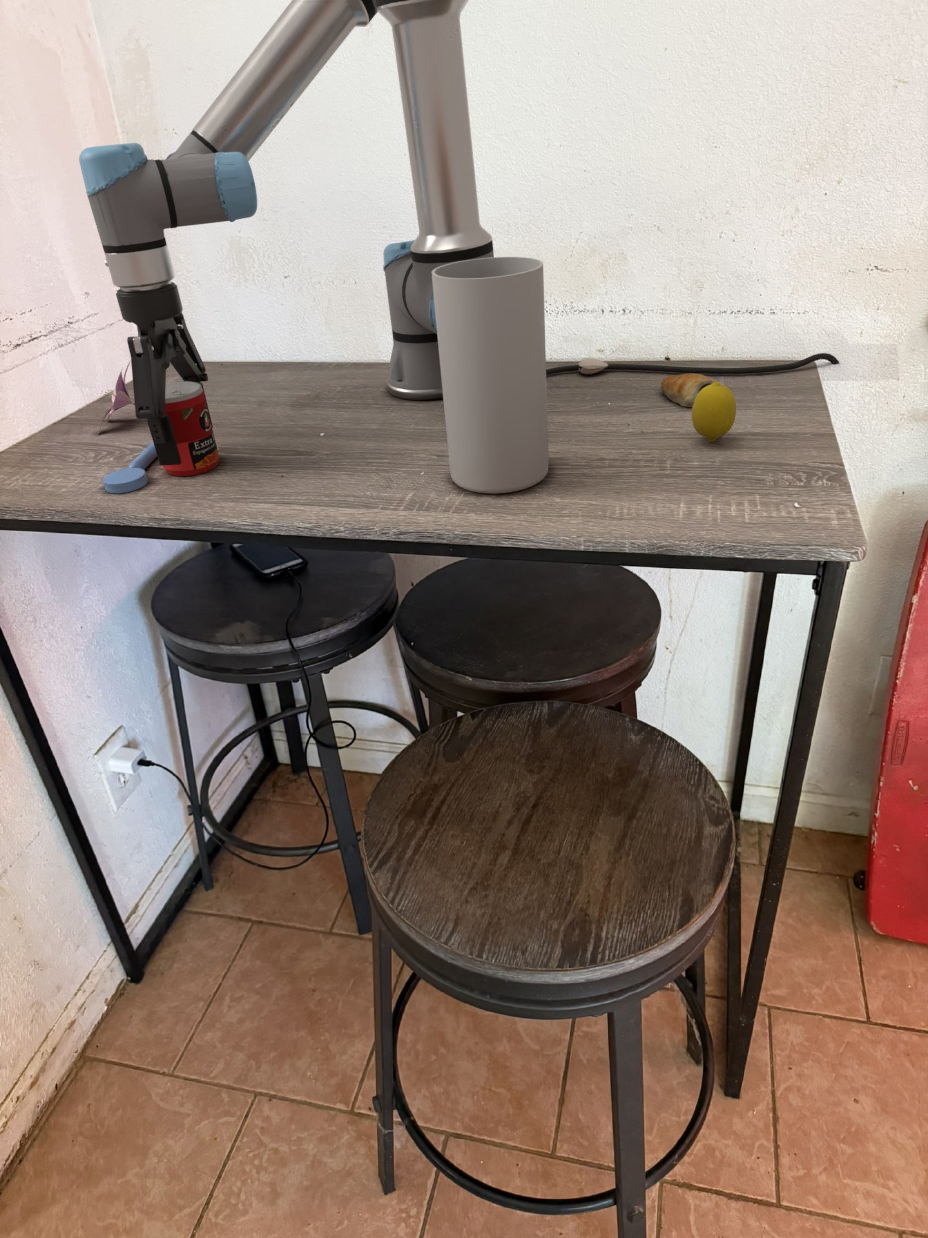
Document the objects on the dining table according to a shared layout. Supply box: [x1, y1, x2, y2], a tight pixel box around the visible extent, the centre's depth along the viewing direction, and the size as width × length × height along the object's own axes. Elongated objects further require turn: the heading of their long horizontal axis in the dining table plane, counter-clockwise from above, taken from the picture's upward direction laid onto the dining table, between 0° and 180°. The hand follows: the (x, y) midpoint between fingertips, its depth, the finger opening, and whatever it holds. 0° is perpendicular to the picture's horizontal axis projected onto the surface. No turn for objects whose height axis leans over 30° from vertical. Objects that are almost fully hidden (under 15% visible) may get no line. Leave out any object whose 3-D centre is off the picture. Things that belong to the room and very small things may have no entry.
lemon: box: [691, 381, 737, 443], centre depth 110 cm, size 6×6×8 cm
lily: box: [98, 359, 135, 432], centre depth 136 cm, size 12×12×10 cm
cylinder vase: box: [432, 256, 550, 495], centre depth 101 cm, size 12×12×25 cm
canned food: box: [162, 381, 220, 477], centre depth 116 cm, size 8×8×11 cm
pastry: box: [659, 373, 718, 408], centre depth 127 cm, size 9×7×4 cm
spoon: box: [102, 441, 158, 494], centre depth 121 cm, size 21×6×2 cm, turn 177°
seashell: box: [578, 357, 609, 376], centre depth 141 cm, size 4×5×2 cm
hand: (188, 445), depth 117 cm, fingers open, 13 cm apart
